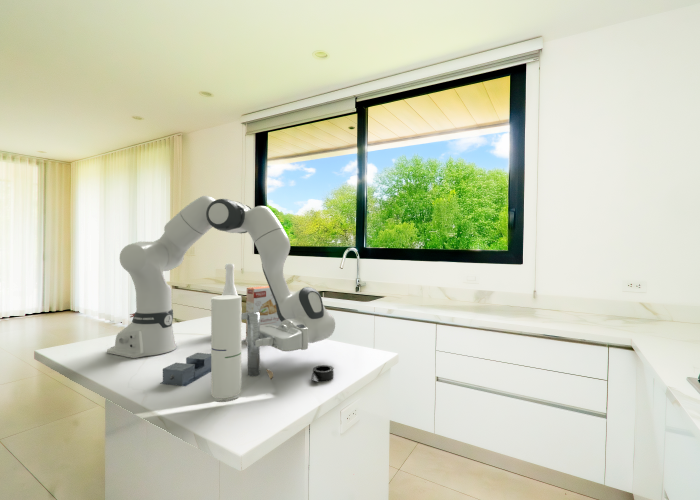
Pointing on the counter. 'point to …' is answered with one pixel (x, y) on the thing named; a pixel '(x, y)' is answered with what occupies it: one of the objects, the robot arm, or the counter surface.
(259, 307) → the cracker box
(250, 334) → the brushed metal post
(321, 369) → the black round winged cup
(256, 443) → the counter surface
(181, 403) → the counter surface
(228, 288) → the white long rounded piece
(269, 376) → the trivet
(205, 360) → the vise
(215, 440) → the counter surface
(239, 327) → the cylindrical container
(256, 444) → the counter surface
